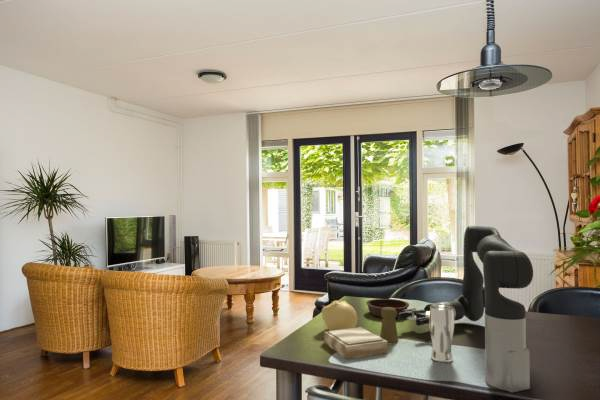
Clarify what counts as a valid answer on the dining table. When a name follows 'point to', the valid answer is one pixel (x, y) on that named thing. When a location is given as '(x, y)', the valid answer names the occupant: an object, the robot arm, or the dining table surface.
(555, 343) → the dining table surface
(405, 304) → the dish
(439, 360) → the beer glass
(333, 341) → the wooden stand
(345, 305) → the sculpture
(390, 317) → the brown tall waisted piece
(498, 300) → the robot arm
